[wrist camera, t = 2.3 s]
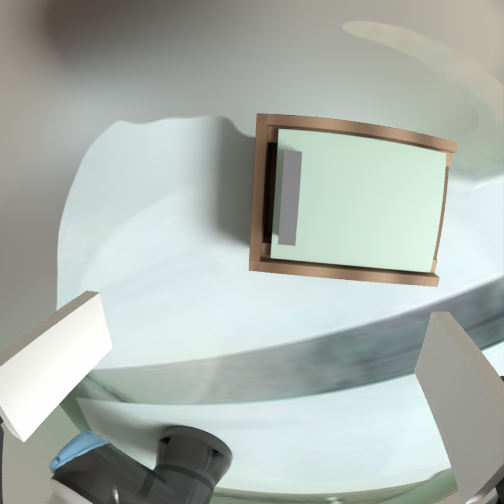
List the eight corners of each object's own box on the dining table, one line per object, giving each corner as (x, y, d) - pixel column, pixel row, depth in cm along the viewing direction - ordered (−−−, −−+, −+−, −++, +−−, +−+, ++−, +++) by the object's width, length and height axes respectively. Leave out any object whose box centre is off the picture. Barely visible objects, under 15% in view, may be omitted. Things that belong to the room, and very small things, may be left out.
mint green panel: (271, 255, 30) (267, 267, 26) (279, 129, 27) (276, 124, 23) (427, 270, 28) (441, 282, 24) (442, 153, 24) (460, 152, 21)
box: (258, 250, 36) (248, 270, 29) (265, 124, 32) (257, 113, 25) (414, 265, 34) (437, 286, 27) (429, 146, 29) (457, 142, 22)
